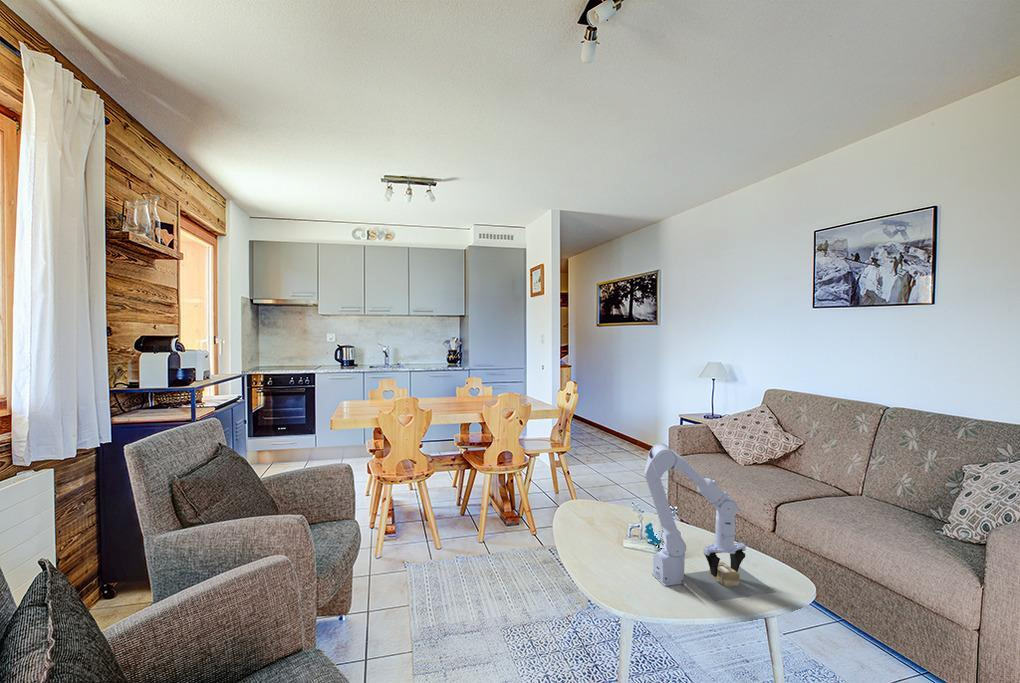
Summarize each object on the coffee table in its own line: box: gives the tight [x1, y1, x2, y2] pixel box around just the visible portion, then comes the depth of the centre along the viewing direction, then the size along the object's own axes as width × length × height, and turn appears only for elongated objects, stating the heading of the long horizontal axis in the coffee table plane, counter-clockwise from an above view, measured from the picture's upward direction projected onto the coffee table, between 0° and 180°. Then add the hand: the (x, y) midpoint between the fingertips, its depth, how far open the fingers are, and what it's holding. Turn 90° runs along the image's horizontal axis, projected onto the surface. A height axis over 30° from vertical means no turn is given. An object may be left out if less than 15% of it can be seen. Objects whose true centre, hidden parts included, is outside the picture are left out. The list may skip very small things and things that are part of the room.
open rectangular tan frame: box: [710, 561, 739, 587], centre depth 154 cm, size 8×5×4 cm, turn 13°
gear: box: [644, 522, 661, 546], centre depth 181 cm, size 11×6×10 cm
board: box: [684, 566, 777, 602], centre depth 152 cm, size 22×16×4 cm
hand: (724, 573), depth 154 cm, fingers open, 7 cm apart
